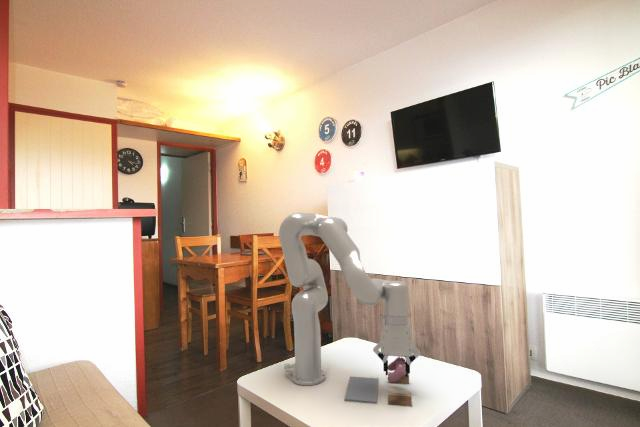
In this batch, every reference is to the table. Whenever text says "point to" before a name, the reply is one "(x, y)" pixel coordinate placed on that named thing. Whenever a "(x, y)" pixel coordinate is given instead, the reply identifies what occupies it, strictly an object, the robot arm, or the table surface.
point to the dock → (400, 394)
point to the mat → (362, 390)
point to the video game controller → (396, 369)
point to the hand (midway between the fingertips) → (396, 373)
